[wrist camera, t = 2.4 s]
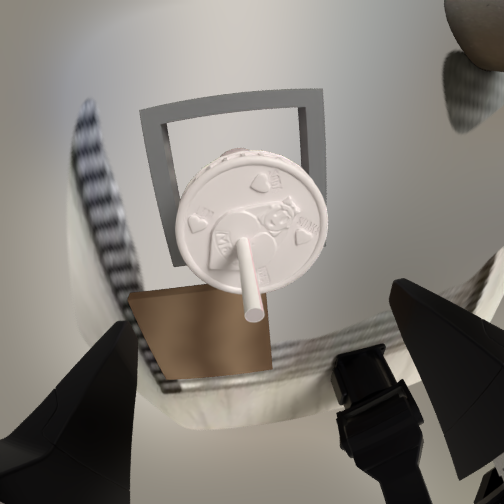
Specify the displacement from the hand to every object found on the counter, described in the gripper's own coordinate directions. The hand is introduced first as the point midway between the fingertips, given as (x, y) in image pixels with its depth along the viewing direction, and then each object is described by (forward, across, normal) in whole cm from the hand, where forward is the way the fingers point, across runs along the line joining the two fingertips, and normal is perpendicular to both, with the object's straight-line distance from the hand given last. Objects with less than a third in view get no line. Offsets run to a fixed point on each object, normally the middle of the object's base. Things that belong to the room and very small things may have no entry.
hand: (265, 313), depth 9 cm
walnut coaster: (+13, +5, +14) cm, 20 cm away
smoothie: (+14, 0, -1) cm, 14 cm away
